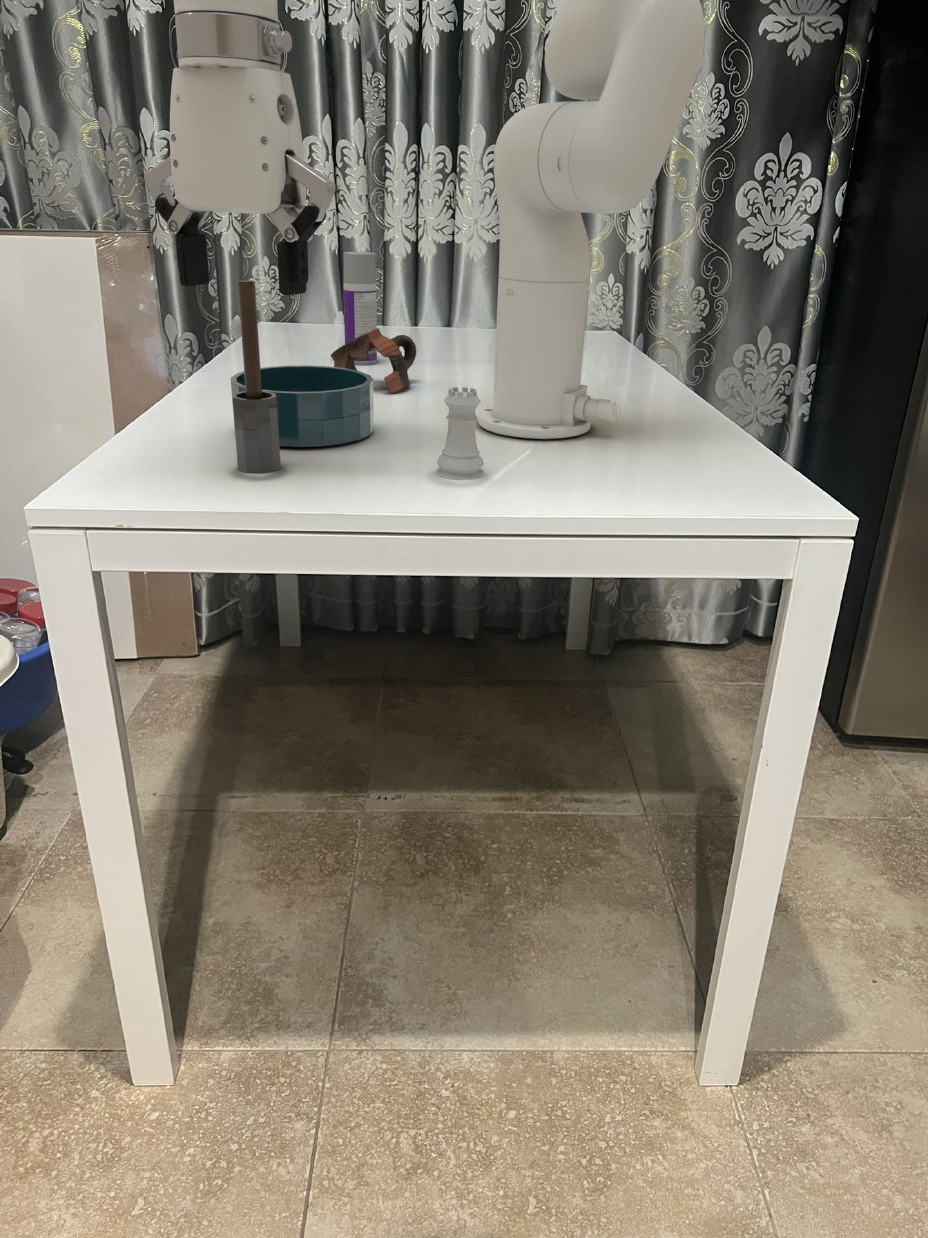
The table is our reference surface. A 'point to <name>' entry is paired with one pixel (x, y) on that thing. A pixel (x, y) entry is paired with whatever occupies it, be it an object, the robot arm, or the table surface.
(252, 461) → the utensil cup
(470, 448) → the rook chess piece
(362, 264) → the container
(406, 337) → the brown twisted loop sculpture
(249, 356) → the stick
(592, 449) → the table surface
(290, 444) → the bowl
